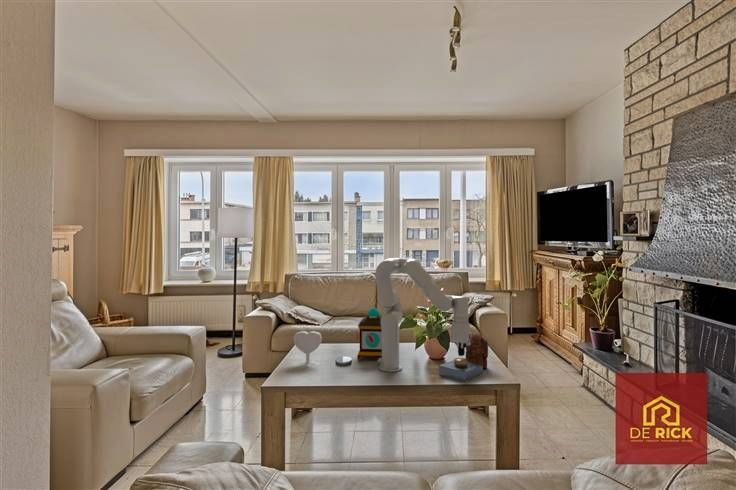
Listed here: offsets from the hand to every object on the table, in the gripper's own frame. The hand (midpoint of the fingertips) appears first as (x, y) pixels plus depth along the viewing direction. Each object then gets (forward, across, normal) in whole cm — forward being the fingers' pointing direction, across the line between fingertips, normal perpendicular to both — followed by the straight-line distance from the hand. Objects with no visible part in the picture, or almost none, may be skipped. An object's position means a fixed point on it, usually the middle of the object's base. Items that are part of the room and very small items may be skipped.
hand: (461, 355), depth 218 cm
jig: (+10, 0, 0) cm, 10 cm away
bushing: (+10, 0, 0) cm, 10 cm away
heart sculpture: (+10, -73, -44) cm, 86 cm away
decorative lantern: (+10, -55, -9) cm, 57 cm away
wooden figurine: (+11, -1, +17) cm, 20 cm away
